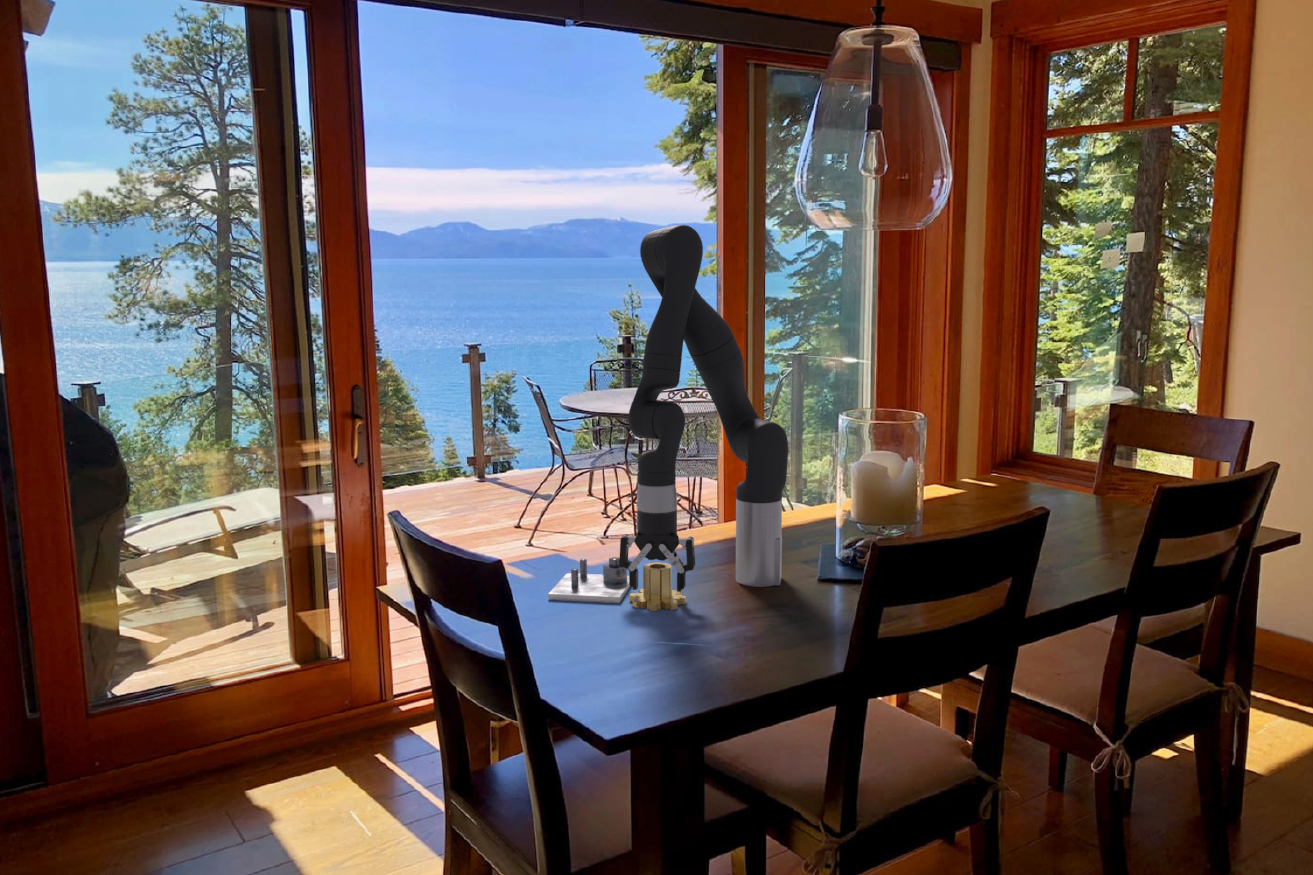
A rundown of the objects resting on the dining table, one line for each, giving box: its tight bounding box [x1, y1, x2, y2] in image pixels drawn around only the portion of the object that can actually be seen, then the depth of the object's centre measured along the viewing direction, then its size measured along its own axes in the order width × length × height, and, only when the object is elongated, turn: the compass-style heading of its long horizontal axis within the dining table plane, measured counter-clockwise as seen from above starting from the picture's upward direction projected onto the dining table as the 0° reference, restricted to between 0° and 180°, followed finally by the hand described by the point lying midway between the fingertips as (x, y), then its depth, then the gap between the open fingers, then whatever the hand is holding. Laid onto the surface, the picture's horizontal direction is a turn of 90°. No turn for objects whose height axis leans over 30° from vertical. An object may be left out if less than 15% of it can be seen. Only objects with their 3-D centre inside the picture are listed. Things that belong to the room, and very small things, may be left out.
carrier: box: [547, 556, 631, 604], centre depth 191 cm, size 14×14×6 cm
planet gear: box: [628, 561, 687, 612], centre depth 184 cm, size 11×11×7 cm
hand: (657, 589), depth 184 cm, fingers open, 8 cm apart
